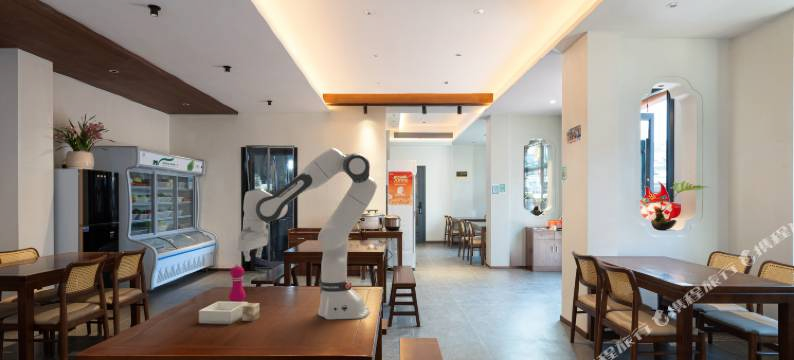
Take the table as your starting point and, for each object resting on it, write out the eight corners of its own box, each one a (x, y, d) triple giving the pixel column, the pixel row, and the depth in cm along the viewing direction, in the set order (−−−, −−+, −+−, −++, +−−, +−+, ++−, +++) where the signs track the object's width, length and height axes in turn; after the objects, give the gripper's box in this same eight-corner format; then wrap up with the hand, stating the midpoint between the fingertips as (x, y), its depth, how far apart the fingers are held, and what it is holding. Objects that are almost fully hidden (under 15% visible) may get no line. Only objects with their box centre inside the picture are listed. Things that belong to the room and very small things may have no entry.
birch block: (259, 317, 173) (259, 303, 173) (253, 321, 168) (253, 306, 168) (248, 317, 174) (248, 302, 174) (242, 320, 169) (242, 306, 169)
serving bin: (247, 313, 179) (247, 302, 179) (231, 323, 165) (231, 311, 165) (218, 312, 180) (218, 301, 180) (198, 322, 166) (198, 310, 167)
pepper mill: (248, 303, 194) (248, 261, 195) (240, 308, 187) (240, 264, 187) (233, 303, 195) (233, 261, 195) (226, 307, 188) (225, 264, 188)
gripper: (248, 229, 163) (248, 263, 163) (271, 224, 183) (270, 255, 183) (234, 228, 164) (233, 263, 164) (258, 224, 184) (257, 255, 184)
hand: (253, 259), depth 174 cm, fingers open, 8 cm apart
